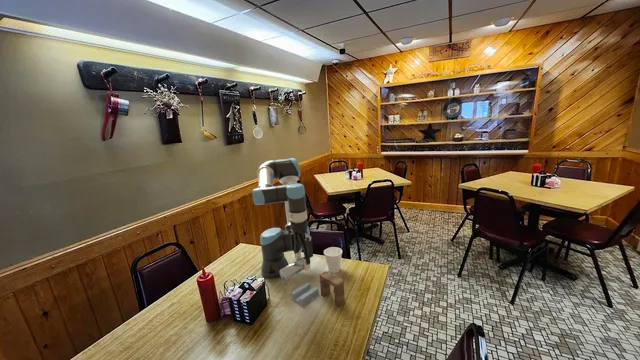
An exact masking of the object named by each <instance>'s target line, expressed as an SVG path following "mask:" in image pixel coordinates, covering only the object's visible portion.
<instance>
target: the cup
mask: <svg viewBox="0 0 640 360" xmlns="http://www.w3.org/2000/svg"><path fill="white" fill-rule="evenodd" d="M323 255H324V257H325V261H326V265H327V268H328V272H329V273H331V274H332V273H333V274H336V273H339V272H340V270H341V264H342V255H343V249H342V248H340V247H336V246H335V247H334V246H331V247H328V248H327V247H326V249H324V250H323Z"/></svg>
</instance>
